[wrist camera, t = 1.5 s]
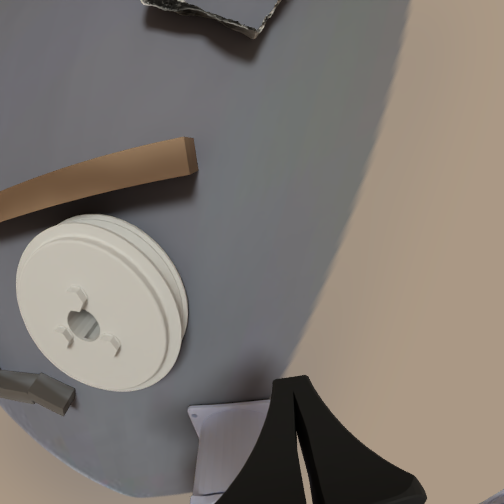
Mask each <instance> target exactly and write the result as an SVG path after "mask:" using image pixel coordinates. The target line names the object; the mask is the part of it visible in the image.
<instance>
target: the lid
mask: <svg viewBox="0 0 504 504" xmlns="http://www.w3.org/2000/svg"><path fill="white" fill-rule="evenodd" d="M16 292H17V299H18V305H19V308H20V312H21V315H22V317H23V320H24V323H25V325H26V328H27V330H28V332H29V334H30V335H31V337H32V339H33V341H34V342H35V344H36V345H37V347H38V348H39V349H40V350H41V352H42V353H43V354H44V355H45V356H46V357H47V358H48V359H49V360H50V361H51V362H52V363H53V364H54V365H55V366H56V367H57V368H59V369H60V370H61V371H63V372H64V373H66V374H67V375H69V376H70V377H72V378H74V379H76V380H77V381H79V382H82V383H84V384H87V385H89V386H93V387H96V388H100V389H105V390H110V391H120V392H122V391H134V390H140V389H143V388H146V387H149V386H151V385H153V384H154V383H156V382H158V381H159V380H161V379H162V378H163V377H164V376H165V375H166V374H167V373H168V372H169V371H170V370H171V368H172V367H173V365H174V363H175V361H176V359H177V357H178V354H179V351H180V347H181V342H182V339H183V337H184V334H185V330H186V326H187V320H188V303H187V297H186V292H185V288H184V285H183V283H182V280H181V277H180V275H179V273H178V271H177V269H176V267H175V265H174V264H173V262H172V261H171V260H170V258H169V257H168V255H167V254H166V253H165V251H164V250H163V249H162V248H161V247H160V246H159V245H158V243H156V242H155V241H154V240H153V239H152V238H151V237H150V236H149V235H147V234H146V233H145V232H143V231H142V230H140V229H139V228H137V227H136V226H134V225H132V224H130V223H128V222H126V221H124V220H122V219H119V218H116V217H113V216H108V215H103V214H83V215H77V216H74V217H71V218H69V219H66V220H65V221H63V222H61V223H59V224H58V225H56V226H53V227H50V228H48V229H46V230H44V231H43V232H41V233H40V234H39V235H37V236H36V237H35V238H34V239H33V240H32V241H31V242H30V243H29V244H28V246H27V247H26V249H25V251H24V252H23V254H22V257H21V259H20V262H19V266H18V270H17V277H16Z"/></svg>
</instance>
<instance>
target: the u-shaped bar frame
mask: <svg viewBox="0 0 504 504" xmlns="http://www.w3.org/2000/svg"><path fill="white" fill-rule="evenodd" d="M196 171H198V164H197V158H196V152H195V145H194V139H193V138H188V137H180V138H175V139H170V140H166V141H161V142H157V143H152V144H148V145H144V146H139V147H135V148H131V149H127V150H123V151H120V152H116V153H112V154H109V155H105V156H101V157H98V158H94V159H91V160H88V161H84V162H81V163H78V164H75V165H71V166H68V167H65V168H62V169H59V170H56V171H53V172H50V173H47V174H45V175H42V176H39V177H36V178H33V179H31V180H28V181H25V182H23V183H20V184H18V185H15V186H12V187H10V188H7V189H5V190H3V191H0V222H2V221H5V220H8V219H12V218H15V217H18V216H21V215H24V214H27V213H31V212H34V211H37V210H41V209H44V208H48V207H51V206H55V205H58V204H62V203H66V202H69V201H73V200H77V199H81V198H84V197H88V196H92V195H96V194H101V193H105V192H109V191H113V190H117V189H122V188H126V187H131V186H135V185H140V184H145V183H149V182H154V181H159V180H164V179H169V178H175V177H180V176H185V175H190V174H192V173H194V172H196ZM74 397H75V388H72V387H70V386H68V385H66V384H64V383H61V382H59V381H57V380H55V379H53V378H51V377H49V376H47V375H45V374H43V373H40V374H33V373H23V372H14V371H6V370H1V369H0V398H5V399H10V400H14V401H19V402H24V403H30V404H35V402H36V403H38V404H40V405H42V406H43V407H45V408H47V409H49V410H51V411H53V412H55V413H57V414H60V415H62V416H64V415H65V414H66V412H67V410H68V408H69V406H70V404H71V403H72V401H73V399H74Z"/></svg>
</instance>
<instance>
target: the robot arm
mask: <svg viewBox="0 0 504 504" xmlns="http://www.w3.org/2000/svg"><path fill="white" fill-rule="evenodd" d="M188 414H189V416H190V419H191V421H192V423H193V426H194V428H195V430H196V433H197V435H198V437H199V447H198V454H197V462H196V470H195V479H194V487H193V495H192V496H191V498H190V504H306V498H305V493H304V488H303V481H302V476H301V470H300V464H299V458H298V452H297V435H298V439H299V443H300V446H301V450H302V454H303V458H304V461H305V465H306V469H307V473H308V477H309V482H310V488H311V495H312V502H313V504H424V503H425V502H426V499H427V496H426V493H425V491H424V489H423V487H422V485H421V484H420V482H419V481H418V480H417V478H416V477H415V476H414V475H412V474H410V473H408V472H406V471H404V470H402V469H400V468H398V467H396V466H395V465H393V464H391V463H390V462H388V461H386V460H385V459H383V458H382V457H380V456H379V455H377V454H376V453H375V452H373V451H372V450H370V449H369V448H368V447H366V446H365V445H364V444H363V443H361V442H360V441H359V440H358V439H357V438H355V437H354V436H353V435H352V434H351V433H350V432H349V431H348V430H347V429H346V428H345V427H344V426H343V425H342V424H341V423H340V422H339V421H338V419H337V418H336V417H335V416H334V415H333V414H332V413H331V411H330V410H329V409H328V407H327V406H326V405H325V403H324V402H323V401H322V399H321V398H320V396H319V395H318V393H317V392H316V390H315V389H314V387H313V385H312V383H311V381H310V379H309V377H308V376H306V375H302V376H295V377H289V378H282V379H275V380H274V381H273V387H272V395H271V399H269V400H260V401H251V402H241V403H229V404H215V405H196V406H189V407H188ZM195 414H196V415H195ZM296 431H297V433H296ZM479 504H504V489H503V490H501V491H500V492H498V493H497V494H495V495H493V496H492V497H490V498H488V499H487V500H485V501H483V502H481V503H479Z"/></svg>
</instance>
